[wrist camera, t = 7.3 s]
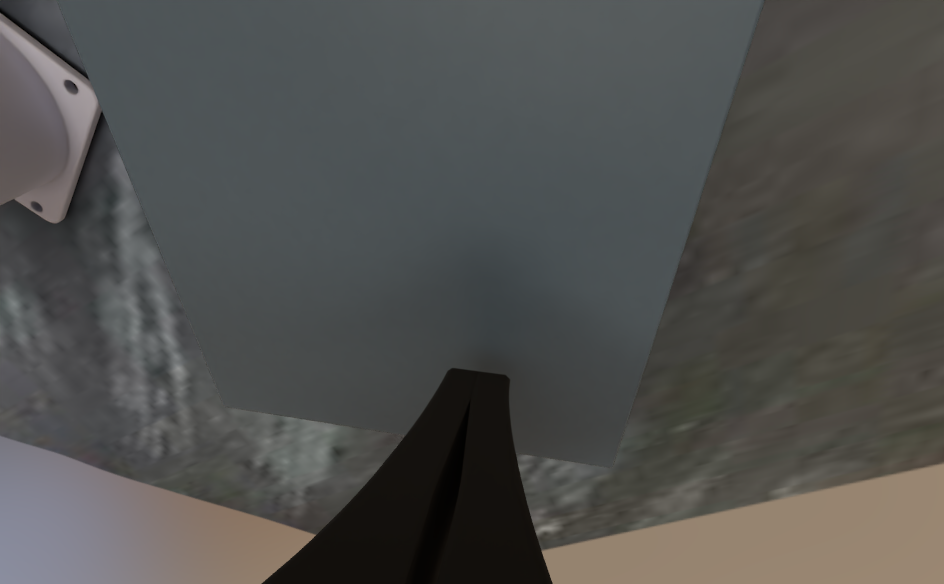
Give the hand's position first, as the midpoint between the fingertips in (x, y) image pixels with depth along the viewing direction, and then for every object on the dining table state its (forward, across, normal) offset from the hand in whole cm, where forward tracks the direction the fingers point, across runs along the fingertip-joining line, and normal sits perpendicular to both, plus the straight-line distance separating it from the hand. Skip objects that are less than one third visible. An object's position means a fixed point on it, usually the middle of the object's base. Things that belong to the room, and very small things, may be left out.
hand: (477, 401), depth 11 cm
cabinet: (+9, +2, -3) cm, 10 cm away
